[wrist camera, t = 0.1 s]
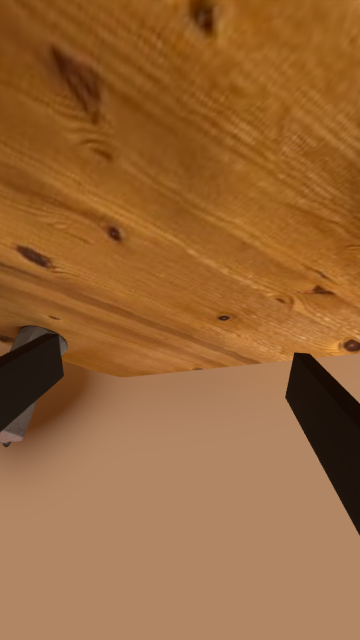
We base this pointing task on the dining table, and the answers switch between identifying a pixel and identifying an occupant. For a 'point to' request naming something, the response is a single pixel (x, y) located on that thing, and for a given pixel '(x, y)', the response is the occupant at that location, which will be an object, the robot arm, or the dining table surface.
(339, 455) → the robot arm
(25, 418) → the moka pot
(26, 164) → the dining table surface
